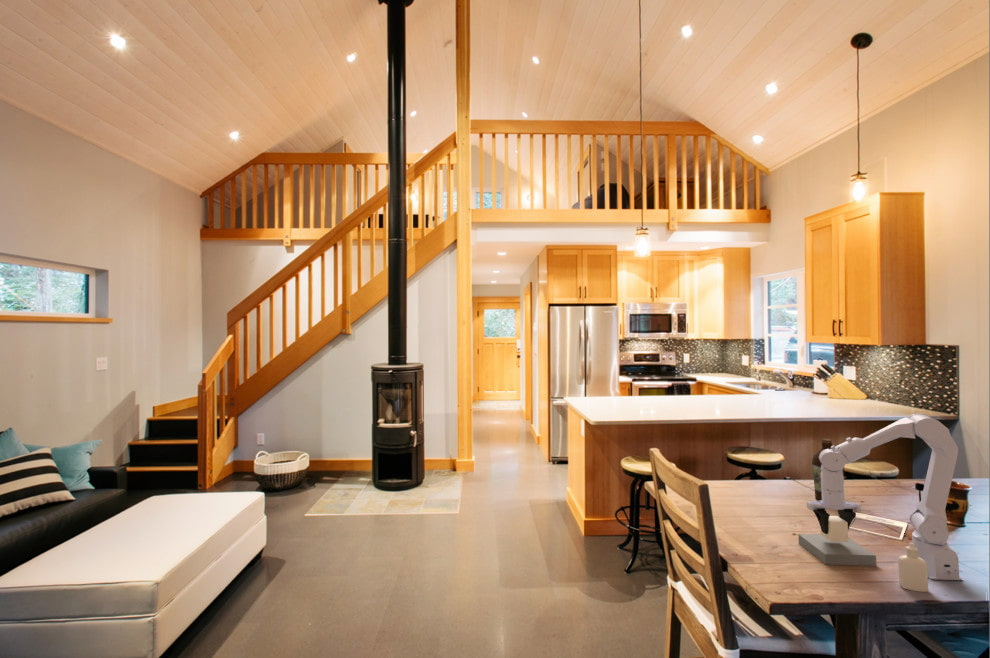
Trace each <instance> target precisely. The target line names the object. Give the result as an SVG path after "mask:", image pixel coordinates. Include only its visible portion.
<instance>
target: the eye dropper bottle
mask: <svg viewBox="0 0 990 658" xmlns="http://www.w3.org/2000/svg"><path fill="white" fill-rule="evenodd" d="M897 562H898V565H897V566H898V583H899V585H900V587H901V588H903V589H905V590H909V591H912V592H913V591H914V592H920V593H924V592H925V593H926V592H928V591H929V577H928V572H927V563H926V562H925V561H924V560H923V559H921V558H919V557H918V549H917V548H915V547H914V544H913V543H912V542H909V544H908V545H907V546H905V554H904V555H903V554H902V555H899V557H898V560H897Z"/></svg>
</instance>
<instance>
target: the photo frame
mask: <svg viewBox="0 0 990 658" xmlns="http://www.w3.org/2000/svg"><path fill="white" fill-rule="evenodd" d="M854 512H855V511H854ZM855 513H856V517H855V518H854V519H853V521H852V522H851V524H850V527H849V530H853V531H856V532H857V531H858V532H861V533H866V534H869V535H870V534H871V535H875V536H880V537H882V538H883V537H884V538H888V539H893V540H896V541H900V540H901V541H900V542H902V541H903V539H904V536H905V534H906V530H907V527H908V522H903V521H899V520H894V519H890V518H885V517H880V516H875V515H870V514H867V513H860V512H858V511H857V512H855ZM855 519H858V520H862V521H866V522H871V523H876V524H880V525H885V526H888V527H889V526H890V527H895V528H898V527H899V528H900V529H902V530H901V533H900V536H899V537H896V536H892V535H886V534H883V533H879V532H874V531H870V530H867V529H866V530H865V529H859V528H857V527H852V524H853V522H854V521H855ZM904 533H905V534H904Z"/></svg>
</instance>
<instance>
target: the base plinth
mask: <svg viewBox="0 0 990 658" xmlns="http://www.w3.org/2000/svg"><path fill="white" fill-rule="evenodd" d="M798 544H799V545H801V546H802V547H803V548H804V549H805V550H807V551H808V552H809V553H810V554H812V555H813V556H814V557H816V558H817V559H818V560H819V561H821V563H823V564H824V565H827V566H829V565H836V566H837V565H838V566H874V567H876V566H877V554H874V553H873V552H871V551H870V550H868V549H867V548H866V547H864V546H862V545H861V544H859V543H858V542H856V541H855V540H853V539H852V538H850V537H848V542H831V541H829V540H828V539H826V538H825V537H824V536H822V535H821V533H820V534H817V533H816V534H815V533H814V534H813V533H798Z"/></svg>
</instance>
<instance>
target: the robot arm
mask: <svg viewBox="0 0 990 658" xmlns="http://www.w3.org/2000/svg"><path fill="white" fill-rule="evenodd" d="M916 436H917V437H919V438H920V439H922V441H923V442H925V444H927V446H928V447H929V448H930V449H931V454H930V459H929V461H928V462H929V463H928V468H927V473H926V477H925V480H924V481H925V482H924V486H923V489H922V495H921V500H920V502H919V503H917V504H916V507H915V510H914V511H912V513H911V514H910V515H909V523H910V524H911V526H912V527H913V528H914V529H913V532H912V533H911V538H912V539H911V540H912V543H913V544H914V547H915V548H917V549H918V557H919V558H921V559H923V560H924V561H925V562H926V563H927V572H928V579H930V580H939V581H940V580H941V581H942V580H943V581H944V580H946V581H961V580H960V579H963V580H964V578H963V577H961V576H960V565H959V563H960V562H959V556H958V554H957V553H956V551H954V550H953V549H952V548H951V547H950V546H949V544H948V539H949V536H950V533H949V530H948V527H947V523H948V519H947V517H948V516H947V513H946V507H947V503H948V499H949V495H950V494H949V493H950V490H951V485H952V482H953V477H954V474H955V473H954V472H955V468H956V464H957V458H958V454H959V447H958V445H957V444H956V442H955V440H954V438H953V437H952V435H951V432H950V429H949V428H948V427H946V426H945V425H944V424H943V423H941V421H939V420H938V419H935V418H932V417H931V416H929V415H927V414H924V413H914V414H910V415H909V416H907V417H903V418H900V419H899V420H896V421H894V422H893V423H890V424H888V425H887V426H885V427H883V428H881V429H879V430H876V431H875V432H872V433H870V434H869V435H867V436H865V437H863V438H860V437H853V438H851V437H846V438H845V441H843V442H842V443H840V444H837V445H836V446H835V445H834V444H832V446H831V448H832V449H825V450H823V451H822V452H821V453H820V455H819V460H820V462H821V463H822V464H821V491H822V500H820V501H817V500H814V501H807V502H806V509H808V510H810V511H812V512H813V513H814V515H815V517H816V519H817V521H818V524H819V526H820V531H821V530H822V532H823V533H825V534H828V520H829V516H831V514H830V513H829V512H827V511H828V510H829V511H831V510H834V511H837V513H838V517H840V518H841V519H843V520H845V521H846V522H848V531H849V530H850V529H849V527H851V525H852V524H851V522H852V521H853V519H854V518H855V517H856V513H855V511H857V512H861V510H862V509H861V504H859V503H858V502H853V501H852V502H851V501H846V500H845V481H844V480H845V476H844V477H843V472H842V469H843V468H844V469H845V466H846V464H847V465H848V464H851V463H853V462H855V461H857V460H860V459H862V458H865V457H866V456H869V455H870V453H871V450H872V449H874V448H877V447H878V446H881V445H884V444H886V443H888V442H891V441H894V440H896V439H899V438H904V439H905V438H907V439H908V438H909V439H916ZM855 519H856V518H855ZM855 519H854V520H855ZM853 522H854V521H853ZM853 522H852V523H853ZM850 524H851V525H850Z"/></svg>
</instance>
